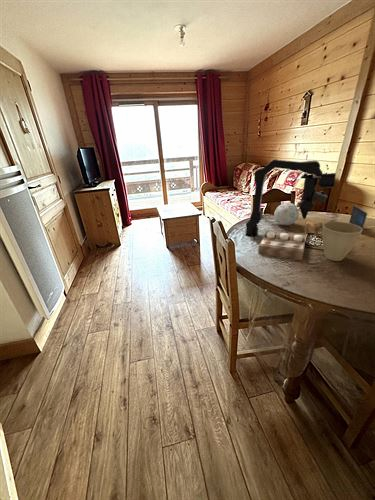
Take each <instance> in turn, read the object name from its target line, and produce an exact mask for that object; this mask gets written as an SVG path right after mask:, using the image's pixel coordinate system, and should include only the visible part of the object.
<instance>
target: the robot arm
mask: <svg viewBox="0 0 375 500" xmlns="http://www.w3.org/2000/svg"><path fill="white" fill-rule="evenodd" d="M274 169H285V170H294V171H300V172H303V173H304V174H303V175H302V176H300V177H301V179H304V183H303V189H302V194H301V199H300V200H301V201H299V211H300V213H301V217H302V219H303V220H306V218H307V216H308V214H309V212H310V211H311V210H312V209H313V208H314V206H315V205H314V204H315V202H314V201H315V200H316V201H318V202H320V203H323V204H325V202H326V200H327V199H328V195H327V194H326V192H325V191H324V190H321V191H317V185H318V186H319V187H320V188H323V189H325V188H327V189H329V188H330V189H331V188H332V189H333V188H334V187H335V182H336V175H337V174H336V173H335V172H330V173H324V172H323V171H322V169H321V164H320V162H319V161H318V160H307V161H294V160H286V159H285V160H282V159H277V158H274V159H273V160H271V161H270V162H269V163H268V164H266V165H264V167H260V168H258V169H257V170H256V171H255V172H254V174H253V175H254V185H255V189H254V191H255V192H254V199H253V200H254V201H253V206H252V207H253V209H252V211H251V214H250V217H249V220H248V221H246V223H245V227H246V228H245V229H246V230H245V236H248V237H257V235H258V234H259V226H258V224H259V223H260V222H261V221H262V219H263V218H264V211H262V209H261V206H262V201H263V200H262V199H263V193H264V192H263V191H264V184H265V181H266V180H267V176H268V173H269V172H271V171H272V170H274Z"/></svg>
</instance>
